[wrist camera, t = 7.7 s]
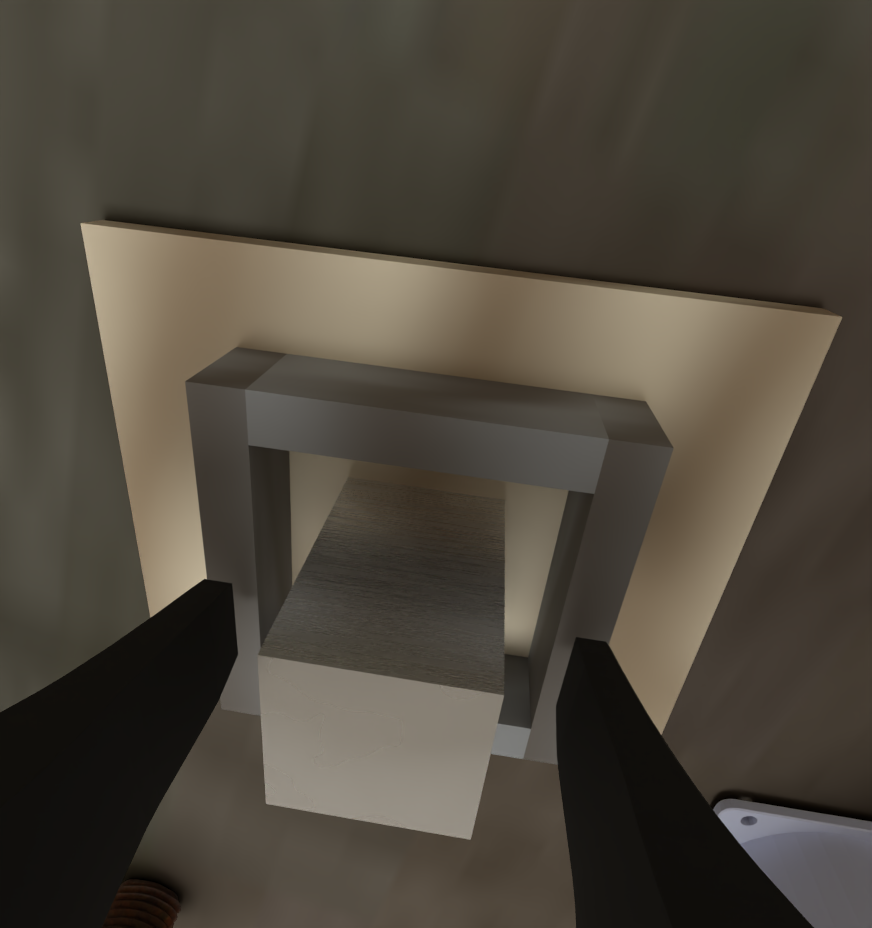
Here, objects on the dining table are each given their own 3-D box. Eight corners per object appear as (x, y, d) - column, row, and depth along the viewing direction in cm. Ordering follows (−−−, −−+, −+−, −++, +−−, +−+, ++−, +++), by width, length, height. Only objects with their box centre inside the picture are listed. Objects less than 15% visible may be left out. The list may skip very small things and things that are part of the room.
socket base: (823, 308, 12) (917, 351, 9) (645, 737, 19) (669, 838, 16) (103, 219, 13) (-8, 235, 10) (174, 661, 20) (118, 744, 17)
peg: (505, 499, 14) (504, 695, 9) (482, 619, 16) (470, 839, 11) (347, 477, 15) (257, 655, 9) (343, 597, 16) (265, 803, 11)
